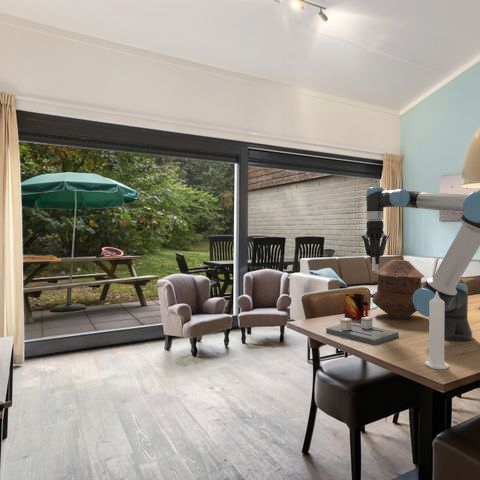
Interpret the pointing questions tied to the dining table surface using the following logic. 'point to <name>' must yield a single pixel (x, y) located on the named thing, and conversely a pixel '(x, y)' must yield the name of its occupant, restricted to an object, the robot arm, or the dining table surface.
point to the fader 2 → (366, 322)
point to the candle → (436, 333)
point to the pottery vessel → (397, 288)
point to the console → (364, 333)
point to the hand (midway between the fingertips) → (374, 270)
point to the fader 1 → (346, 324)
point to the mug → (355, 306)
